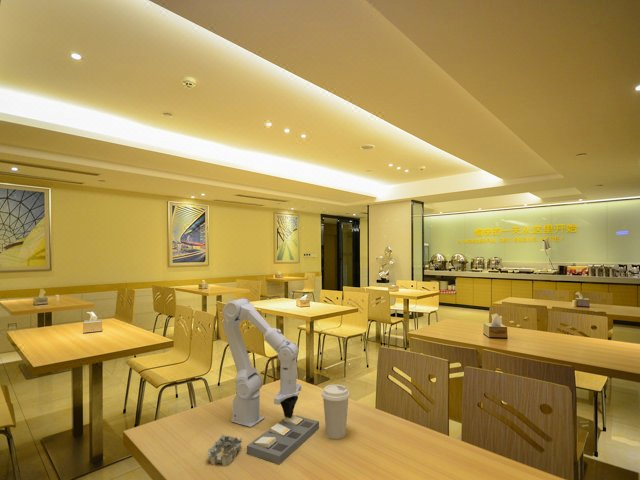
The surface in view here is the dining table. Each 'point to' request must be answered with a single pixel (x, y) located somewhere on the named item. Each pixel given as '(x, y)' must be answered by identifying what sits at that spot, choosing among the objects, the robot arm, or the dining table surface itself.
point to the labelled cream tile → (293, 420)
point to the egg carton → (228, 445)
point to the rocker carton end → (265, 442)
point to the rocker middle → (279, 430)
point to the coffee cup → (335, 410)
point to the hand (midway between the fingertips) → (288, 417)
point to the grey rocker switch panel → (284, 441)
